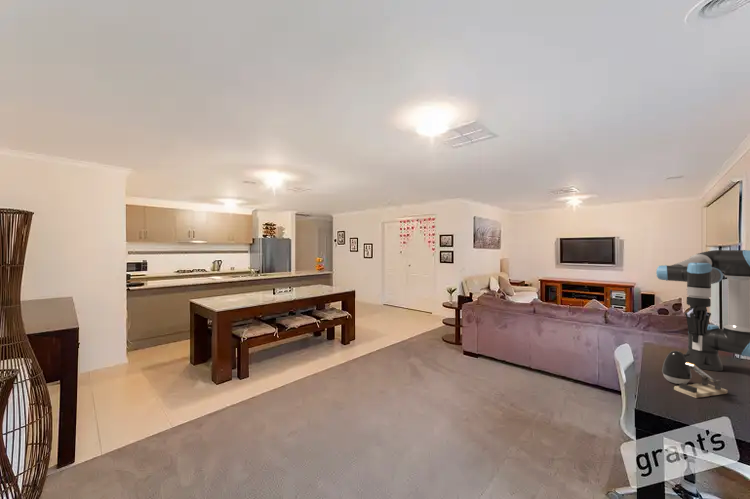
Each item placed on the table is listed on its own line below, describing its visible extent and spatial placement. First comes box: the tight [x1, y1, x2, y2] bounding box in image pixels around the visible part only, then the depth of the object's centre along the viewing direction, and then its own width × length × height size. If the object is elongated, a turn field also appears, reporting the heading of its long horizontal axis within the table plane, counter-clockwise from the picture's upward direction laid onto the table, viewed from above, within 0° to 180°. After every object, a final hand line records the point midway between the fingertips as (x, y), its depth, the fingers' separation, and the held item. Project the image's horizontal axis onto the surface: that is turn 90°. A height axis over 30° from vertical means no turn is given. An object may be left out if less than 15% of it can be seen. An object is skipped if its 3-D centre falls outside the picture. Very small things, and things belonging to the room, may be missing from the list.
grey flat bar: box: [685, 362, 716, 384], centre depth 141 cm, size 17×3×1 cm
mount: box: [673, 376, 728, 399], centre depth 141 cm, size 20×8×6 cm, turn 105°
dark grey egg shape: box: [661, 350, 692, 385], centre depth 151 cm, size 10×10×15 cm
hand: (697, 349), depth 140 cm, fingers closed
